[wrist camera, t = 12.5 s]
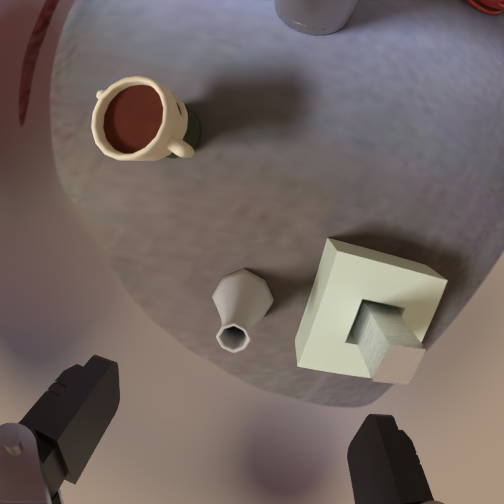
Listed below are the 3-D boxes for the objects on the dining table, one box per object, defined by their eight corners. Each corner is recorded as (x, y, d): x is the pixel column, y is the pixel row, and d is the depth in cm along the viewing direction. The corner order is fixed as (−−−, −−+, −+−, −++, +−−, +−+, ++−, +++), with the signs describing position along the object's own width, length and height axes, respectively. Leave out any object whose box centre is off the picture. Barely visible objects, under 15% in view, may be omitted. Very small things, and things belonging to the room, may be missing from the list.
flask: (284, 299, 39) (287, 341, 29) (241, 333, 40) (232, 380, 31) (244, 257, 38) (234, 288, 28) (202, 294, 39) (181, 333, 29)
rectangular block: (353, 285, 37) (389, 344, 24) (381, 291, 37) (426, 349, 24) (344, 314, 39) (372, 381, 25) (371, 319, 39) (408, 384, 25)
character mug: (230, 133, 34) (207, 114, 21) (193, 183, 36) (153, 192, 23) (159, 85, 33) (108, 52, 20) (126, 133, 34) (64, 123, 22)
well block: (327, 237, 36) (337, 250, 30) (426, 264, 36) (447, 280, 30) (294, 340, 40) (297, 366, 34) (387, 356, 40) (401, 381, 34)
